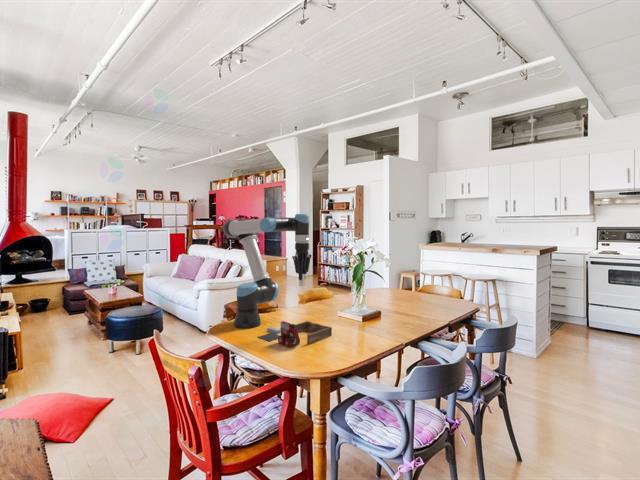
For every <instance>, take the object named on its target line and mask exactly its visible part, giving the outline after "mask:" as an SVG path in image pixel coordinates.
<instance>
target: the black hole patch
mask: <svg viewBox="0 0 640 480" xmlns="http://www.w3.org/2000/svg"><path fill="white" fill-rule="evenodd" d="M279 336H280V334H275V333H272V332H269V333H266V334H263V335H260V336H257V339H260V340H263V341H267V342H272V341H274V340H278V337H279Z"/></svg>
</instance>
